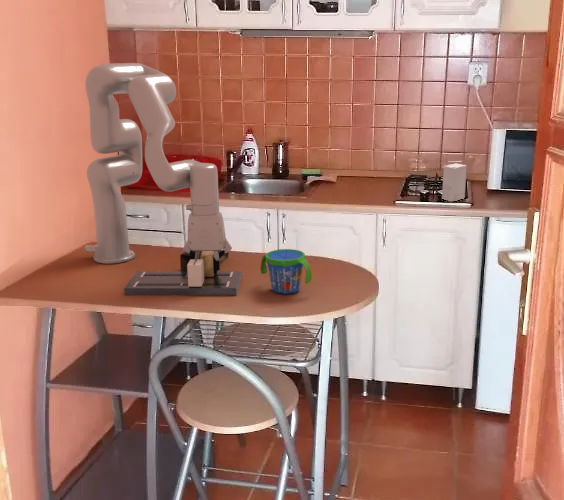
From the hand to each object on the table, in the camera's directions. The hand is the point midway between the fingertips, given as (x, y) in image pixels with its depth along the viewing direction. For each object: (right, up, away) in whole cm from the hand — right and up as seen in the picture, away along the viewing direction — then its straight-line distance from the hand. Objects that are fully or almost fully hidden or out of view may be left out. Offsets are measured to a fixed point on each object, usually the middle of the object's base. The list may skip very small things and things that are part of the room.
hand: (208, 272), depth 191 cm
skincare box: (+92, +27, +94) cm, 134 cm away
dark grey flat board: (-6, -4, -3) cm, 8 cm away
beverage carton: (-2, +1, +15) cm, 15 cm away
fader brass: (0, 0, 0) cm, 0 cm away
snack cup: (+22, -5, -7) cm, 23 cm away
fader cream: (-2, -3, -7) cm, 8 cm away
